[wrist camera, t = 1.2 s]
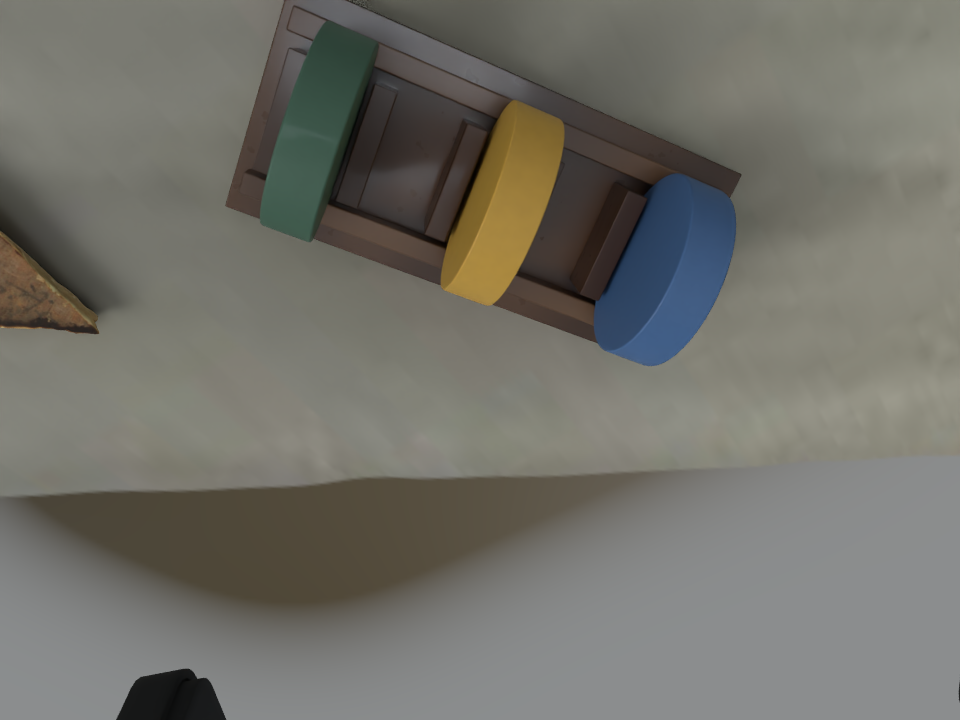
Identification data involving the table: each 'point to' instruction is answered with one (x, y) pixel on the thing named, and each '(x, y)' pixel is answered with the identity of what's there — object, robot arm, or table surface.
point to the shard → (37, 296)
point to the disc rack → (462, 163)
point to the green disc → (317, 130)
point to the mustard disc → (503, 203)
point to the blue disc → (667, 271)
